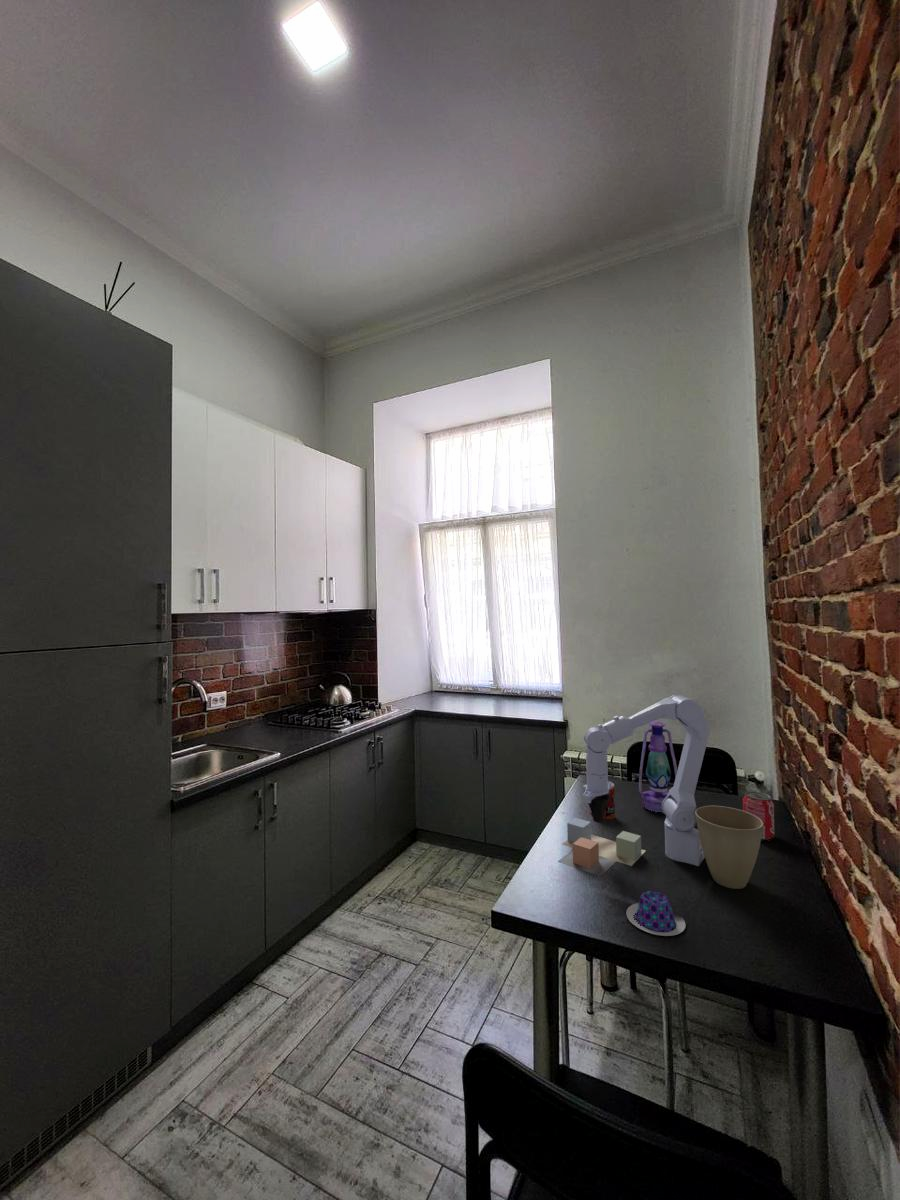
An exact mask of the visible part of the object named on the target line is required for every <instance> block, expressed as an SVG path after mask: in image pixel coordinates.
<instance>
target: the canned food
mask: <svg viewBox="0 0 900 1200" xmlns="http://www.w3.org/2000/svg"><path fill="white" fill-rule="evenodd" d="M608 782H611V789H610V790H609V793H608V795H610V799H609V801H608V803H607V806H606V809H605V813H604V818H603V820H604V819H606V820H608V819H609V820H611V821H614V820H615V819H616V793H615V791H616V789H615V787H616V786H615V783H614V782H612V781H609V780H608ZM589 809H590V808H589ZM589 813H590V815H591V816H592V812H591V809H590V812H589ZM613 819H614V820H613Z"/></svg>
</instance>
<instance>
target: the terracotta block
mask: <svg viewBox="0 0 900 1200" xmlns="http://www.w3.org/2000/svg"><path fill="white" fill-rule="evenodd" d="M572 850H573V863H575V864H578V865H581V866H584V867H587V868H590V869H591V868H592V867H593V866H594V865H595V864H597V863H598V862H599V842H595V841H592V840H589V839H586V838H582V837H581V838H579V839H578V840H577V841H575V842H574V843H573V847H572Z"/></svg>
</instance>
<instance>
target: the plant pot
mask: <svg viewBox="0 0 900 1200" xmlns="http://www.w3.org/2000/svg"><path fill="white" fill-rule="evenodd" d="M695 815H696V826H697V827H696V828H697V830H698V832H699V837H700V841H701V845H702V849H703V852H704V859H705V861H706V864H707V867H708V870H709V872H710V875H711V877H712V880H713V881H714V882H716V884H718V885H721V886H723V887H725V888H727V889H728V888H729V889H735V890H740V889H744V888H745V887H746V886H748V885H747V884H748V882H749V880H750V877H751V876H752V873H753V870H754V867H755V864H756V862H757V858H758V854H759V850H760V847H761V841H762V840H761V836H762V830H763V822H762V820H761V819H760V818H758V817H757V816H755V815H753V814H751V813H748V812H746V811H743V809H738V808H734V807H730V806H729V807H728V806H723V805H703V806H700V807H698V808H696V809H695Z"/></svg>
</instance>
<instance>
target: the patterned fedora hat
mask: <svg viewBox="0 0 900 1200" xmlns="http://www.w3.org/2000/svg"><path fill="white" fill-rule="evenodd" d="M625 913H626V917H627V919H628V920H629V922H630V923H631V924H632V925H633V926H635V927H636V928H638V929H639V930H642V931H644V932H646V933H649V934H650V935H651V934H652V935H655V936H662V937H663V936H664V937H669V936H671V937H673V936H676V935H679V934H681V933H683V932H684V931H685V929H686V928H687V927H686V922H685V919H684V917H682V915H681V914H677V913H674V912H673V909H672V904H671V902H670V901H669V898H668V897H667V896H666V895H665V894H662V893H661V892H658V891H653V890H647V891H644V892H642V893H641V895H640V897H639V902H636V903H633V904H631V905H630V906H628V908H627V909H626V912H625ZM635 913H636V915H635ZM633 915H635V918H636V919H637V920H638V921H637V920H634V918H633V917H634V916H633ZM636 921H637V922H636ZM638 923H639V924H638ZM640 925H641V926H640ZM672 929H673V930H672Z"/></svg>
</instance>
